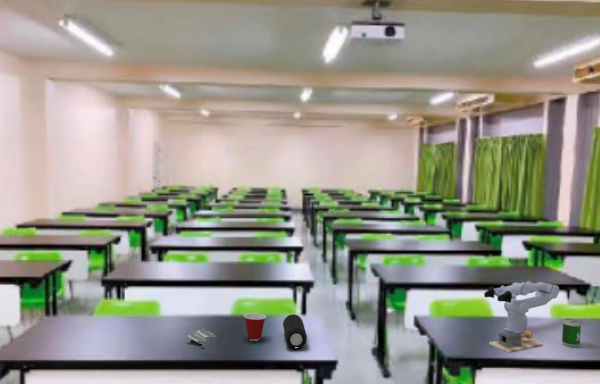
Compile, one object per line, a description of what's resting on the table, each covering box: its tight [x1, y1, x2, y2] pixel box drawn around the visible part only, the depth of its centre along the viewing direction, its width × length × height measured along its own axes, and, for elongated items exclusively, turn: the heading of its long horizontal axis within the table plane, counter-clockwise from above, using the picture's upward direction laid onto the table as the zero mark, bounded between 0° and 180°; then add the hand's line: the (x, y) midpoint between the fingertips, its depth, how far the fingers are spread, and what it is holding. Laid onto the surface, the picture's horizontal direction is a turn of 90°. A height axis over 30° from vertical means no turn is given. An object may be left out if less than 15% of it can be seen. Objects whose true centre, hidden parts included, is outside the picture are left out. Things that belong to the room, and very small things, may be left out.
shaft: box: [520, 330, 533, 339], centre depth 245 cm, size 14×4×4 cm, turn 116°
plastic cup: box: [243, 312, 267, 339], centre depth 245 cm, size 11×11×12 cm
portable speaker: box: [282, 313, 308, 349], centre depth 244 cm, size 26×10×10 cm, turn 5°
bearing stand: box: [488, 331, 544, 353], centre depth 244 cm, size 22×12×6 cm, turn 116°
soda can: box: [561, 318, 582, 349], centre depth 244 cm, size 8×8×12 cm
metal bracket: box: [186, 327, 216, 343], centre depth 241 cm, size 14×6×15 cm
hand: (491, 296), depth 253 cm, fingers open, 7 cm apart
